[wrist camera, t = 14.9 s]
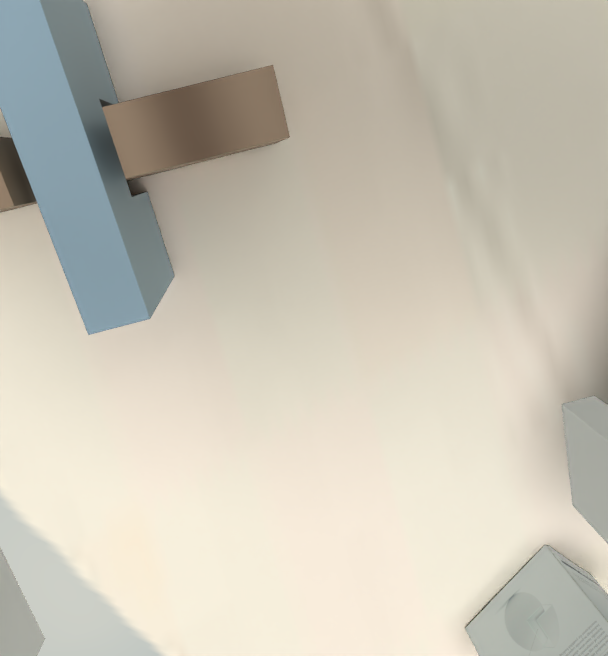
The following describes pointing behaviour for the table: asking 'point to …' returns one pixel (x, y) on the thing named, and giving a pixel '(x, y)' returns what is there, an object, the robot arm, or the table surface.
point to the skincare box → (544, 612)
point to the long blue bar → (78, 161)
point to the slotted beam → (175, 129)
